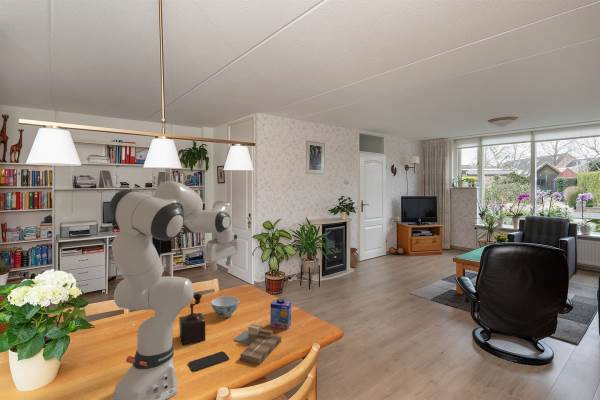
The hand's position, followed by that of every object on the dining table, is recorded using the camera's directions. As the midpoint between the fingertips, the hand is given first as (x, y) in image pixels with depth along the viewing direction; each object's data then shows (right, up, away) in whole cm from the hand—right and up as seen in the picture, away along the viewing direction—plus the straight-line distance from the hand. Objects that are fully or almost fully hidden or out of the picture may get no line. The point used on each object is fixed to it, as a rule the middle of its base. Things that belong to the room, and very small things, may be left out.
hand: (221, 267), depth 136 cm
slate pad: (+12, -34, +5) cm, 36 cm away
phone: (-1, -35, -14) cm, 38 cm away
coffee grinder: (-16, -34, +6) cm, 38 cm away
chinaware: (-6, -33, +30) cm, 45 cm away
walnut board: (+19, -35, -5) cm, 40 cm away
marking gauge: (+17, -34, +3) cm, 38 cm away
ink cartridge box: (+26, -34, +18) cm, 46 cm away
